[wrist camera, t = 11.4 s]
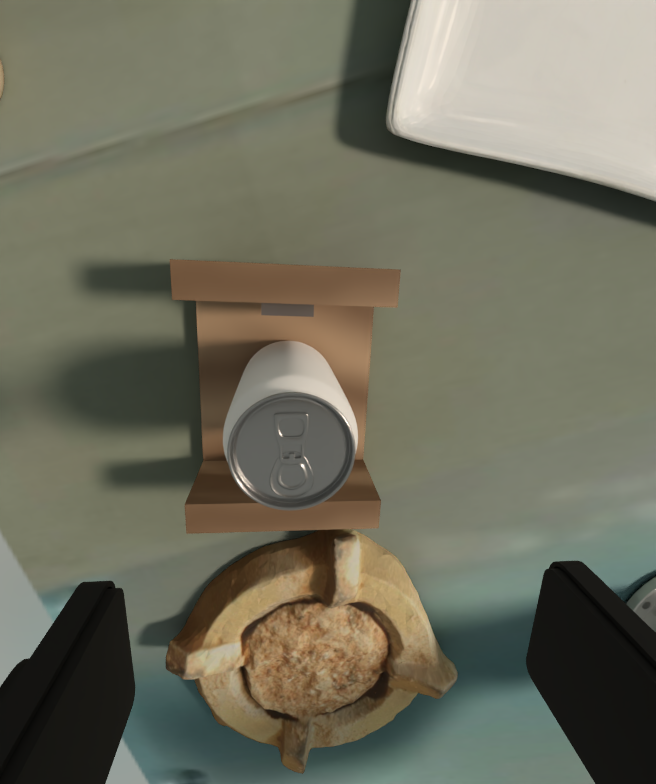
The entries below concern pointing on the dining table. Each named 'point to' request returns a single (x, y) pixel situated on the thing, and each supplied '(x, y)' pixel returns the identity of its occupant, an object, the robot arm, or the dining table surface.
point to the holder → (252, 333)
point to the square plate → (534, 85)
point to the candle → (1, 79)
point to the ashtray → (311, 644)
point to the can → (289, 429)
